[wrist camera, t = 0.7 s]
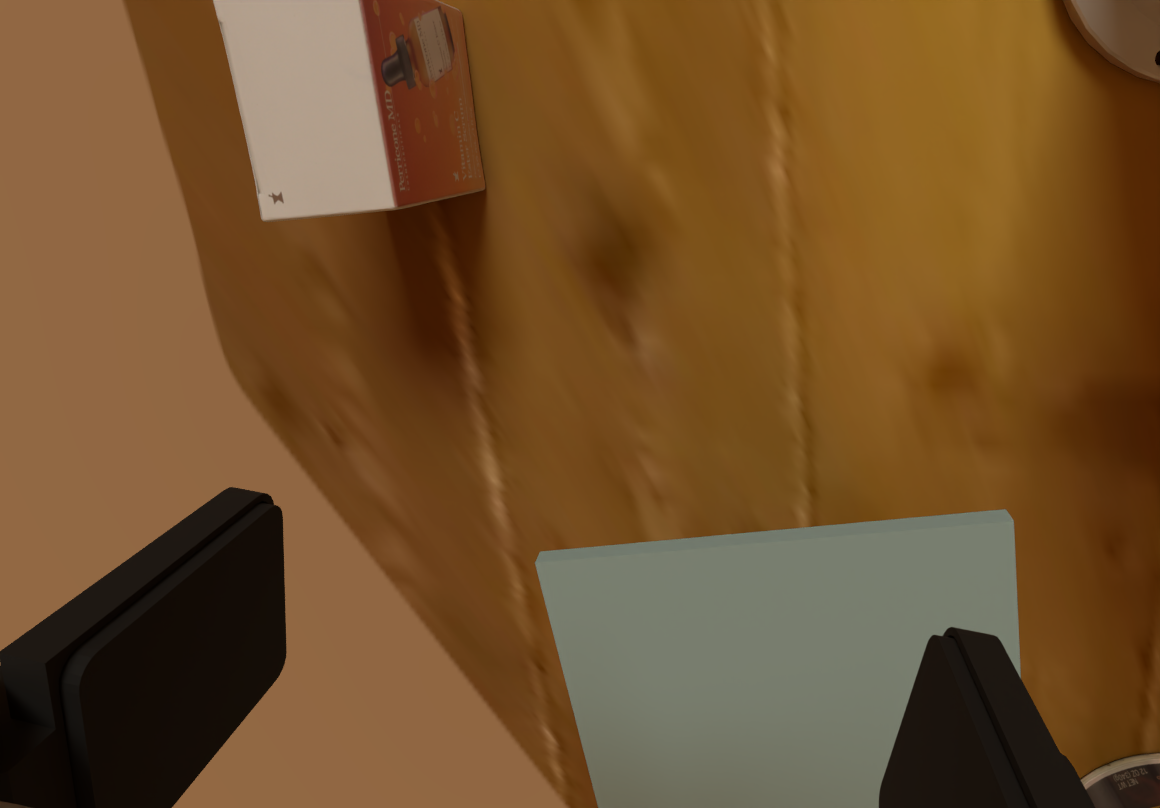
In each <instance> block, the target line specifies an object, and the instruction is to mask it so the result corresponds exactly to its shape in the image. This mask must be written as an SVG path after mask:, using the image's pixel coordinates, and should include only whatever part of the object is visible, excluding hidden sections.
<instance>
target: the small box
mask: <svg viewBox="0 0 1160 808" xmlns="http://www.w3.org/2000/svg"><path fill="white" fill-rule="evenodd" d="M213 2H214V6H215V9H216V14H217V17H218V21H219V24H220V28H221V32H222V36H223V40H224V44H225V48H226V52H227V57H228V61H229V66H230V70H231V74H232V78H233V83H234V87H235V91H236V96H237V101H238V105H239V110H240V114H241V118H242V122H243V127H244V132H245V136H246V141H247V145H248V150H249V155H250V159H251V164H252V169H253V174H254V179H255V184H256V189H257V197H258V202H259V208H260V214H261V219H262V220H263V221H264V222H273V221H285V220H296V219H307V218H318V217H330V216H340V215H351V214H360V213H370V212H380V211H390V210H398V209H404V208H408V207H413V206H417V205H421V204H425V203H430V202H434V201H439V200H443V199H448V198H452V197H457V196H461V195H466V194H470V193H474V192H479V191H483V190H484V189H485V180H484V174H483V168H482V163H481V157H480V150H479V143H478V136H477V129H476V121H475V113H474V105H473V97H472V89H471V81H470V73H469V65H468V57H467V49H466V42H465V34H464V26H463V18H462V13H461V11H460V10H458V9H456V8H454V7H451V6H449V5H447V4H444V3H442V2H439V1H437V0H213Z"/></svg>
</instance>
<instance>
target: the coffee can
mask: <svg viewBox="0 0 1160 808" xmlns="http://www.w3.org/2000/svg"><path fill="white" fill-rule="evenodd" d="M1081 782H1082V784H1083V785H1084V787H1085V789H1086V791H1087V793H1088V795H1089V797H1090V798H1091V800H1092V802H1093V804H1094V806H1095V808H1160V753H1150V754H1142V755H1136V756H1131V757H1127V758H1122V759H1120V760H1117V761H1114V762H1111V763H1109V764H1107V765H1104V766H1102V767H1100V768H1098V769H1096V770H1094V771H1092V772H1090V773H1089V774H1087V775H1086V776H1085V777H1083V778H1082V779H1081Z"/></svg>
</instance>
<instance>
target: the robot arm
mask: <svg viewBox="0 0 1160 808" xmlns="http://www.w3.org/2000/svg"><path fill="white" fill-rule="evenodd" d="M1063 2H1064V5H1065V7H1066V10H1067V12H1068V15H1069V17H1070V19H1071V20H1072V22H1073V23H1074V25H1075V26H1076V28H1077V29H1078V30H1079V32H1080V33H1081V35H1082V36H1083V37H1084V39H1085V40H1086V42H1087V43H1088V44H1089V45H1090V46H1091V47H1093V48H1094V49H1095V50H1096V51H1097V52H1098V53H1100V54H1101V55H1102V56H1103V57H1104V58H1105V59H1106V60H1108V61H1109V62H1110V63H1111V64H1113V65H1115V66H1117V67H1119V68H1121V69H1123V70H1125V71H1127V72H1129V73H1131V74H1132V75H1134V76H1136V77H1139V78H1143V79H1146V80H1150V81H1154V82H1157V83H1160V64H1159V65H1156V62H1155V57H1156V54H1157V52H1159V51H1160V0H1063ZM284 586H285V585H284V549H283V517H282V511H281V509H280V507H278V506H276V505H274V503H273V500H272V498H271V496H269V495H268V494H265V493H260V492H255V491H250V490H245V489H239V488H233V487H230V488H228V489H226V490H224V491H223V492H221V493H220V494H218V495H217V496H216V497H214V498H213V499H211V500H210V501H209V502H207V503H206V504H204V505H203V506H202V507H200V508H199V509H197V510H196V511H195V512H193V513H192V514H190V515H189V516H188V517H186V518H185V519H183V520H182V521H181V522H180V523H178V524H177V525H175V526H174V527H172V528H171V529H170V530H168V531H167V532H165V533H164V534H163V535H161V536H160V537H158V538H157V539H156V540H154V541H153V542H152V543H150V544H149V545H147V546H146V547H145V548H143V549H142V550H140V551H139V552H138V553H136V554H135V555H133V556H132V557H131V558H129V559H128V560H127V561H125V562H124V563H122V564H121V565H120V566H118V567H117V568H115V569H114V570H113V571H111V572H110V573H108V574H107V575H106V576H104V577H103V578H101V579H100V580H99V581H97V582H96V583H95V584H93V585H92V586H90V587H89V588H88V589H86V590H85V591H83V592H82V593H81V594H79V595H78V596H76V597H75V598H74V599H72V600H71V601H69V602H68V603H67V604H65V605H64V606H63V607H61V608H60V609H58V610H57V611H56V612H54V613H53V614H51V615H50V616H49V617H47V618H46V619H44V620H43V621H42V622H40V623H39V624H38V625H36V626H35V627H34V628H32V629H31V630H29V631H28V632H26V633H25V634H24V635H22V636H21V637H19V638H18V639H17V640H15V641H14V642H13V643H11V644H10V645H8V646H7V647H6V648H4V649H3V650H1V651H0V662H1V666H0V808H172V807H173V805H174V804H175V803H176V802H177V801H178V799H179V798H180V797H181V796H182V795H183V793H184V792H185V791H186V790H187V788H188V787H189V786H190V785H191V784H192V782H193V781H194V780H195V778H196V777H197V776H198V775H199V774H200V772H201V771H202V770H203V769H204V768H205V766H206V765H207V764H208V763H209V762H210V760H211V759H212V758H213V757H214V755H215V754H216V753H217V752H218V751H219V749H220V748H221V747H222V746H223V744H224V743H225V742H226V741H227V739H228V738H229V737H230V736H231V735H232V733H233V732H234V731H235V730H236V728H237V727H238V726H239V725H240V724H241V722H242V721H243V720H244V719H245V717H246V716H247V715H248V714H249V713H250V711H251V710H252V709H253V708H254V706H255V705H256V704H257V703H258V702H259V700H260V699H261V698H262V697H263V695H264V694H265V693H266V692H267V691H268V689H269V688H270V687H271V686H272V685H273V683H274V682H275V681H276V680H277V678H278V677H279V675H280V673H281V671H282V669H283V666H284V663H285V659H286V623H285V587H284ZM879 808H1095V806H1094V804H1093V802H1092V800H1091V798H1090V797H1089V795H1088V793H1087V791H1086V789H1085V787H1084V785H1083V784H1082V782H1081V780H1080V778H1079V776H1078V774H1077V772H1076V771H1075V769H1074V767H1073V766H1072V764H1071V763H1070V761H1069V760H1068V759H1067V757H1066V756H1064V755H1062V754H1061V753H1060V752H1059V750H1058V748H1057V746H1056V744H1055V742H1054V740H1053V739H1052V737H1051V735H1050V733H1049V731H1048V729H1047V727H1046V725H1045V723H1044V722H1043V720H1042V718H1041V716H1040V714H1039V712H1038V710H1037V708H1036V706H1035V705H1034V703H1033V701H1032V699H1031V697H1030V695H1029V693H1028V691H1027V690H1026V688H1025V686H1024V684H1023V682H1022V680H1021V678H1020V676H1019V674H1018V673H1017V671H1016V669H1015V667H1014V665H1013V663H1012V661H1011V659H1010V658H1009V656H1008V654H1007V652H1006V650H1005V648H1004V646H1003V644H1002V642H1001V641H1000V640H999V638H998V637H997V636H994V635H991V634H986V633H981V632H975V631H970V630H965V629H960V628H955V627H950V628H948V629H947V630H946V631H945V632H944V634H943V636H939V635H932V636H931V637H930V638H929V640H928V643H927V645H926V648H925V651H924V654H923V657H922V661H921V664H920V667H919V670H918V673H917V676H916V679H915V682H914V685H913V688H912V691H911V694H910V697H909V700H908V703H907V706H906V709H905V712H904V716H903V719H902V722H901V725H900V728H899V731H898V734H897V737H896V740H895V743H894V746H893V749H892V752H891V755H890V758H889V761H888V764H887V768H886V771H885V774H884V777H883V780H882V783H881V787H880V792H879Z"/></svg>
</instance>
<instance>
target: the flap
mask: <svg viewBox="0 0 1160 808" xmlns="http://www.w3.org/2000/svg"><path fill="white" fill-rule="evenodd" d="M535 565H536V569H537V573H538V577H539V580H540V584H541V588H542V592H543V596H544V600H545V604H546V607H547V611H548V615H549V619H550V623H551V627H552V631H553V635H554V638H555V642H556V646H557V650H558V654H559V658H560V662H561V665H562V669H563V673H564V677H565V681H566V685H567V689H568V693H569V696H570V700H571V704H572V708H573V712H574V716H575V720H576V723H577V727H578V731H579V735H580V739H581V743H582V747H583V751H584V754H585V758H586V762H587V766H588V770H589V774H590V778H591V781H592V785H593V789H594V793H595V797H596V801H597V805H598V808H879V792H880V787H881V783H882V780H883V777H884V774H885V771H886V768H887V764H888V761H889V758H890V755H891V752H892V749H893V746H894V743H895V740H896V737H897V734H898V731H899V728H900V725H901V722H902V719H903V716H904V712H905V709H906V706H907V703H908V700H909V697H910V694H911V691H912V688H913V685H914V682H915V679H916V676H917V673H918V670H919V667H920V664H921V661H922V657H923V654H924V651H925V648H926V645H927V643H928V640H929V638H930V637H931V636H932V635H939V636H943V634H944V632H945V631H946V630H947V629H948V628H950V627H955V628H960V629H965V630H970V631H975V632H981V633H986V634H991V635H994V636H997V637H998V638H999V640H1000V641H1001V642H1002V644H1003V646H1004V648H1005V650H1006V652H1007V654H1008V656H1009V658H1010V659H1011V661H1012V663H1013V665H1014V667H1015V669H1016V671H1017V673H1018V674H1019V676H1020V678H1021V670H1020V647H1019V625H1018V603H1017V581H1016V558H1015V536H1014V521H1013V519H1012V518H1011V516H1010V515H1009V513H1008V512H1007V510H1006V509H1003V510H992V511H981V512H970V513H959V514H948V515H937V516H926V517H915V518H904V519H893V520H883V521H872V522H861V523H850V524H839V525H828V526H817V527H806V528H795V529H784V530H773V531H762V532H751V533H740V534H729V535H718V536H707V537H696V538H685V539H674V540H663V541H652V542H642V543H631V544H620V545H609V546H598V547H587V548H576V549H565V550H554V551H543V552H540V553H539V555H538V558H537V560H536V562H535Z"/></svg>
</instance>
